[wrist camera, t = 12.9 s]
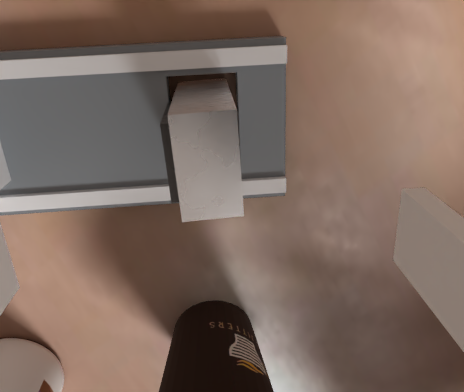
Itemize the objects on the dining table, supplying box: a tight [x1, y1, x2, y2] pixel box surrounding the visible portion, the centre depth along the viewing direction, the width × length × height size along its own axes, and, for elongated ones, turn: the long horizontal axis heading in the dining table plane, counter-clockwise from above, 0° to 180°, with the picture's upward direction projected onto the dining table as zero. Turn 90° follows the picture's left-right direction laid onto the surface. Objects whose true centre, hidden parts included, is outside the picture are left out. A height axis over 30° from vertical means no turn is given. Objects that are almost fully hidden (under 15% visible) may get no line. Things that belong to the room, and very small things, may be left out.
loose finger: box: [160, 78, 244, 222], centre depth 23 cm, size 5×4×9 cm
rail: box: [0, 36, 287, 215], centre depth 22 cm, size 10×24×10 cm, turn 93°
